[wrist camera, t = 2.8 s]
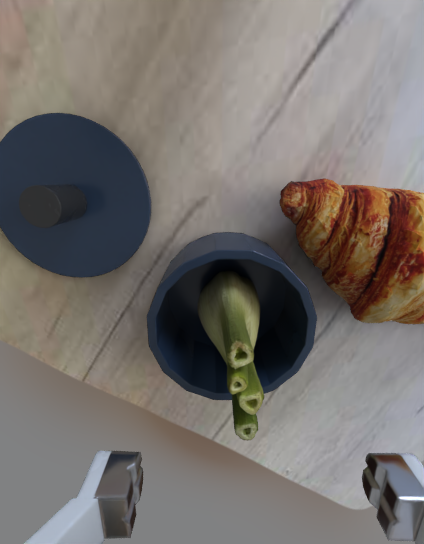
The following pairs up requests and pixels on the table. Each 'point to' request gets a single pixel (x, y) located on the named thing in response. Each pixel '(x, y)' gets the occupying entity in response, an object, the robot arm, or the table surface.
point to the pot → (191, 334)
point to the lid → (72, 195)
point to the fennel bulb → (235, 342)
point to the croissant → (363, 245)
